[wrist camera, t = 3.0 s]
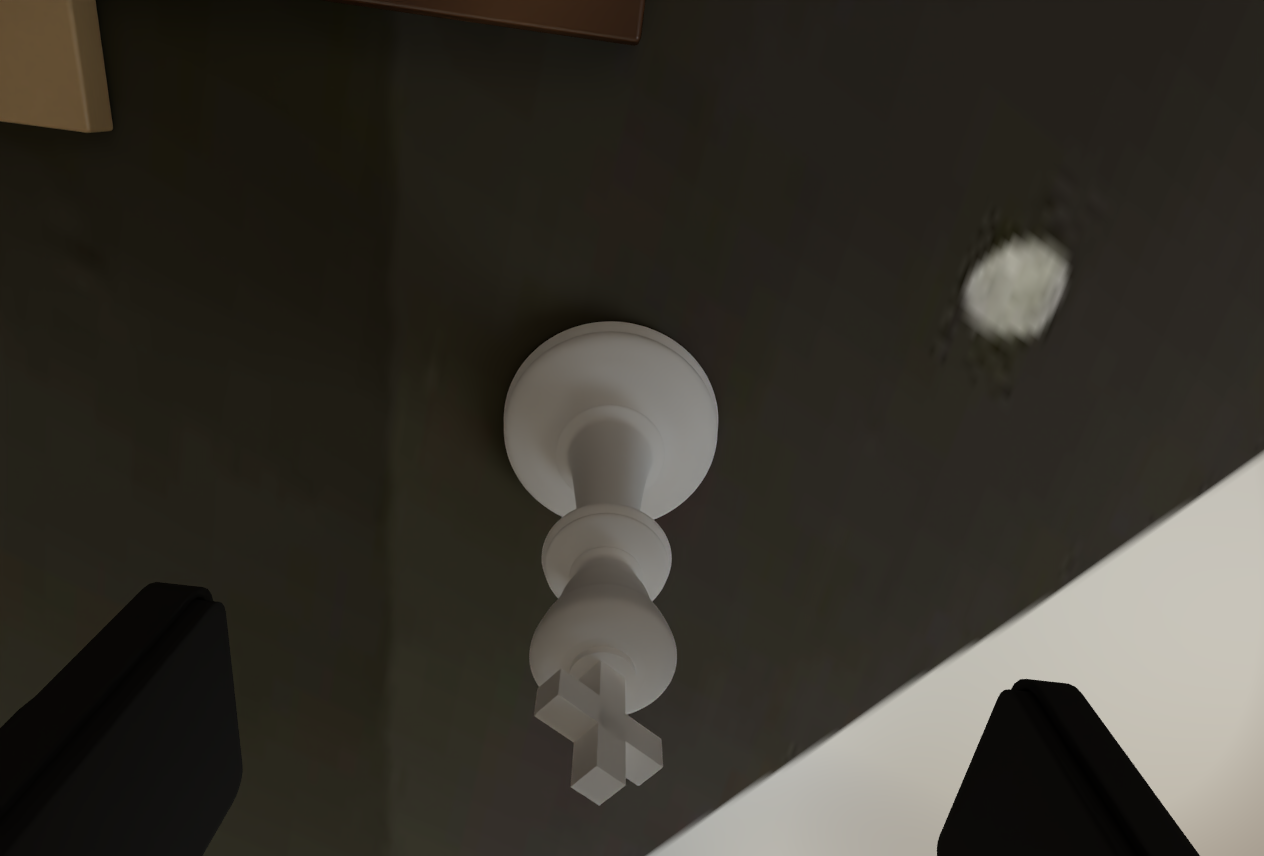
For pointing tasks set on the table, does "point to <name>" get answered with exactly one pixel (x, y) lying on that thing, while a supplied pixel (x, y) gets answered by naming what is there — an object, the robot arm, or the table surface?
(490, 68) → the table surface
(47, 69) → the spatula
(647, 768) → the chess piece
